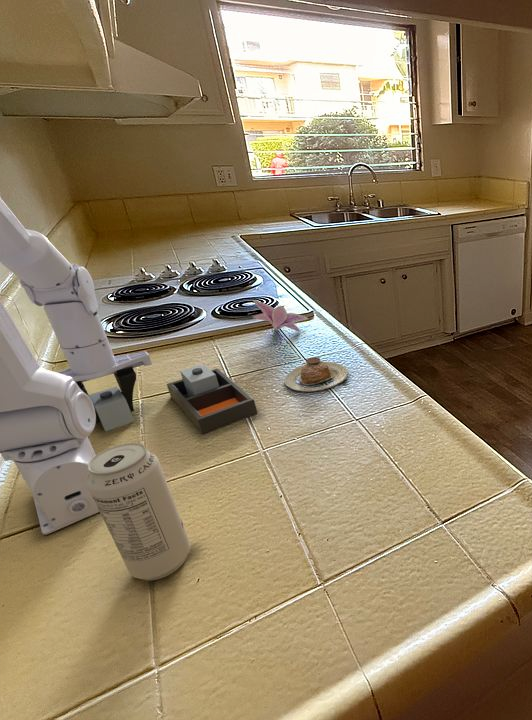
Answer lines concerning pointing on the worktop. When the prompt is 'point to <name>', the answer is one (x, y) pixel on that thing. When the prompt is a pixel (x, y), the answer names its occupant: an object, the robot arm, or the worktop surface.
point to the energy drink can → (138, 510)
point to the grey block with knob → (199, 380)
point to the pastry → (316, 374)
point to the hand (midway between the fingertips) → (114, 414)
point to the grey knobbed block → (111, 408)
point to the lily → (278, 317)
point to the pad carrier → (214, 403)
